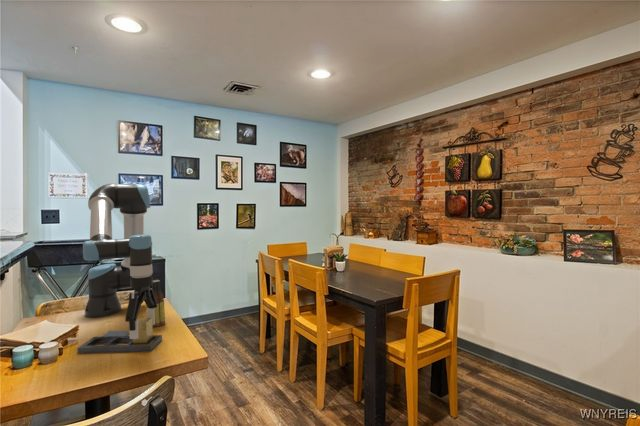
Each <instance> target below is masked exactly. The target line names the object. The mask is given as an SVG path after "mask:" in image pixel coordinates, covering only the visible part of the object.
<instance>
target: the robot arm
mask: <svg viewBox="0 0 640 426" xmlns="http://www.w3.org/2000/svg"><path fill="white" fill-rule="evenodd" d="M148 189H149V188H148V187H147V185H146V184H140V183H138V184H137V183H107V184H104V185H101V186H100V187H98V188H96V189H95V190H94V191H93V192H92V193H91V195H90V196H89V198H88V202H87V206H88V209H89V211H90V224H89V225H90V227H89V240H85V241H84V242H82V256H83V257H82V258H83V260H84V261H87V262H88V261H102V260H103V261H104V260H105V261H106V260H112V259H113V260H115V259H123V260H122V261H121V263H120V265H116V263H105V264H100V265H96V266H94V267H92V268H90V269H89V270H88V272H87V274H88V275H87V276H88V277H87V280H88V300H87V303H86V305H85V308H84V316H85V317H88V318H99V317H105V316H106V317H107V316H110V315H114V314H116V313H119V312H121V310H122V305H121V302H120V299H119V297H118V292H117V290H124V289H125V290H126V289H132V288H133V289H134V291H133V292H130V293H129V297H128V304H127V309H126V315H125V318H124V320H125V322H126V323H127V322H128V323H129V324H128V326H129V327H128V328H129V329H128V330H129V334H128V335H129V336H130V339H138V320H137V319H138V316H139V313H140V309H141V306H142V304H143V303H145V305H146V307H147V308H146V318H152V325H155V312H154V308H157V301H156V297H155V294H154V290H153V280H154V277H153V275H152V274H154V273H153V272H154V271H153V269H154V268H153V250H152V249H153V241H152V236H151V235H150V234H145V231H144V230H145V229H144V227H145V226H144V223H145V222H144V215H145V214H146V213H147V212H148V209H151V200H150V193H149V190H148ZM113 209H119V212H120V214H122V215H123V238H120V239H119V238H116V239H115V238H114V239H113V223H112V221H113V220H112V218H113V217H112V210H113ZM153 301H154V302H153Z"/></svg>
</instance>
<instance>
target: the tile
mask: <svg viewBox="0 0 640 426" xmlns="http://www.w3.org/2000/svg"><path fill="white" fill-rule="evenodd" d="M129 335H130V334H129V329H128V330H125V329H124V330H109V331H107V332H106V333H104V334H103V335H101V336H100V337H107V336H129Z"/></svg>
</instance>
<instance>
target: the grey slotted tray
mask: <svg viewBox="0 0 640 426" xmlns="http://www.w3.org/2000/svg"><path fill="white" fill-rule="evenodd" d="M162 341H163V335H162V334H155V335H153V340H152V341H151V342H150V343H149V344H136V345H133V339H130V335H127V336H107V337H101V336H93V337H92V338H90V339H88V340H87V341H85V342H84V343H82V344H81V345H80V346H77V349H76V351H77V352H76V353H77V354H101V353H102V354H103V353H104V354H106V353H108V354H109V353H137V352H139V353H141V352H147V353H148V352H152V351H153V350H155V348H156V347H157V346H158V345H159V344H160V343H161V342H162ZM97 344H100V345H97ZM102 344H104V345H102Z"/></svg>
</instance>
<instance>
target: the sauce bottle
mask: <svg viewBox="0 0 640 426" xmlns="http://www.w3.org/2000/svg"><path fill="white" fill-rule="evenodd" d="M153 290H154V294H155V297H156V301H157V308H154V312H155V325H152V327H154V328H156V327H161V326H163V325H165V323H166V312H165V298H164V293H163V291H162V290H161V280H159V279H153ZM153 302H154V301H153Z"/></svg>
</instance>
